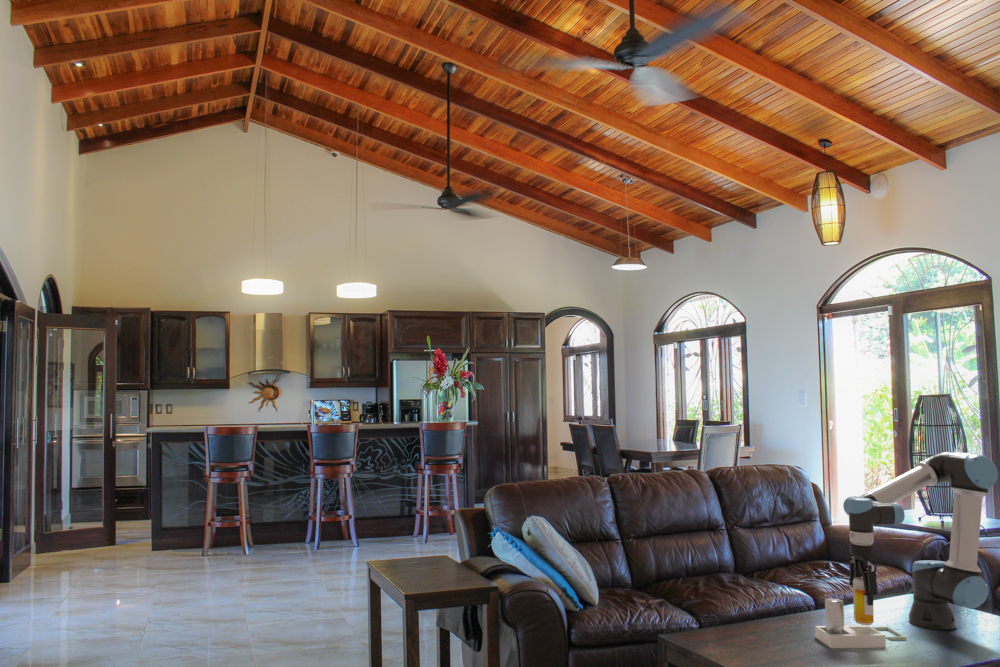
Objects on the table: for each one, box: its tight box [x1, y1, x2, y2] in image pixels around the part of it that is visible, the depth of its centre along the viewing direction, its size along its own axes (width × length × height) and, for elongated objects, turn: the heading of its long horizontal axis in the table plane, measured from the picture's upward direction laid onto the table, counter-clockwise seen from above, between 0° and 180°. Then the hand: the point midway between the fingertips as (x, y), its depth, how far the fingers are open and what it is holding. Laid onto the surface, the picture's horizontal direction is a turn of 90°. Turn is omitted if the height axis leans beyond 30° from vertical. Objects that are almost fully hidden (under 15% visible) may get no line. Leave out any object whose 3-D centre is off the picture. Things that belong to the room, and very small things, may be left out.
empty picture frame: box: [871, 626, 908, 641], centre depth 268 cm, size 11×11×1 cm
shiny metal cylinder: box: [824, 597, 845, 635], centre depth 259 cm, size 6×6×14 cm
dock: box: [814, 624, 887, 649], centre depth 259 cm, size 19×11×4 cm, turn 94°
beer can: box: [852, 577, 874, 626], centre depth 260 cm, size 6×6×15 cm
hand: (863, 611), depth 260 cm, fingers closed on beer can, 6 cm apart
